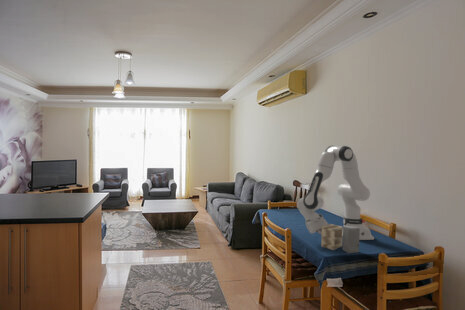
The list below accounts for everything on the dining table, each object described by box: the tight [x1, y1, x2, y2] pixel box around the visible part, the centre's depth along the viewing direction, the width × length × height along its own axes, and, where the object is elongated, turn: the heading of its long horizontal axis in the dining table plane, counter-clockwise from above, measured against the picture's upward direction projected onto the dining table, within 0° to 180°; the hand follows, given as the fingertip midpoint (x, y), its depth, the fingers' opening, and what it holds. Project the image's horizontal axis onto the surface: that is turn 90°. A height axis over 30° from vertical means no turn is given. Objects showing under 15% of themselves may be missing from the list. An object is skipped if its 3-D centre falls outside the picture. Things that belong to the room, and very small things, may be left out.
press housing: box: [320, 223, 343, 251], centre depth 203 cm, size 9×11×14 cm
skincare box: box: [341, 225, 360, 254], centre depth 195 cm, size 8×7×16 cm
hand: (324, 235), depth 207 cm, fingers closed, pressing on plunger
